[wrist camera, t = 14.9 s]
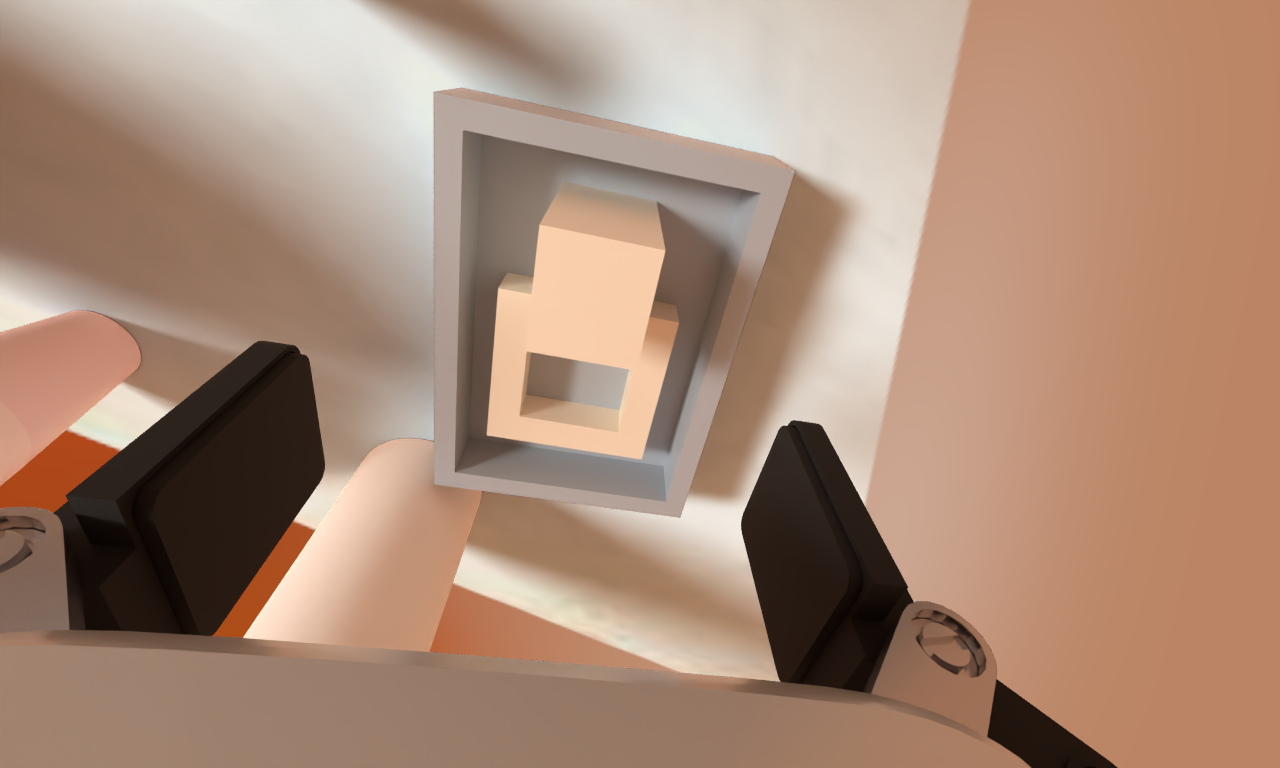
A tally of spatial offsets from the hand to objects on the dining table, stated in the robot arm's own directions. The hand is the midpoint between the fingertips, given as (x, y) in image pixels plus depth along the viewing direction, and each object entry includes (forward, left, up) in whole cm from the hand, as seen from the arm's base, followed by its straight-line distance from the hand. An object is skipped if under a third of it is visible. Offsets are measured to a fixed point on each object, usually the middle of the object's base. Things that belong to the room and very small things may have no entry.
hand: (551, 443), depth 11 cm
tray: (+4, 0, -16) cm, 16 cm away
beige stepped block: (+4, 0, -15) cm, 16 cm away
